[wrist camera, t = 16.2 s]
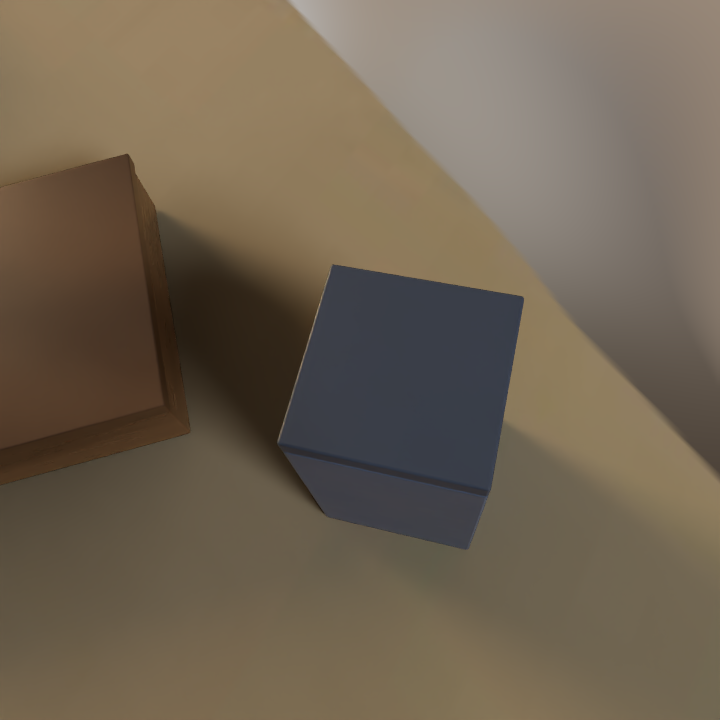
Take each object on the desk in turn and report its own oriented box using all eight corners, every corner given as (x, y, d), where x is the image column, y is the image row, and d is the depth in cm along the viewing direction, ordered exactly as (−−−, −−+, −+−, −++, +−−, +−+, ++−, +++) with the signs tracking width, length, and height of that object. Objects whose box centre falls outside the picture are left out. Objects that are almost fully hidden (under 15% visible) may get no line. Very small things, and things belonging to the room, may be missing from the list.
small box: (468, 550, 21) (490, 491, 14) (325, 516, 22) (275, 443, 15) (493, 413, 23) (524, 295, 16) (360, 386, 24) (331, 262, 16)
